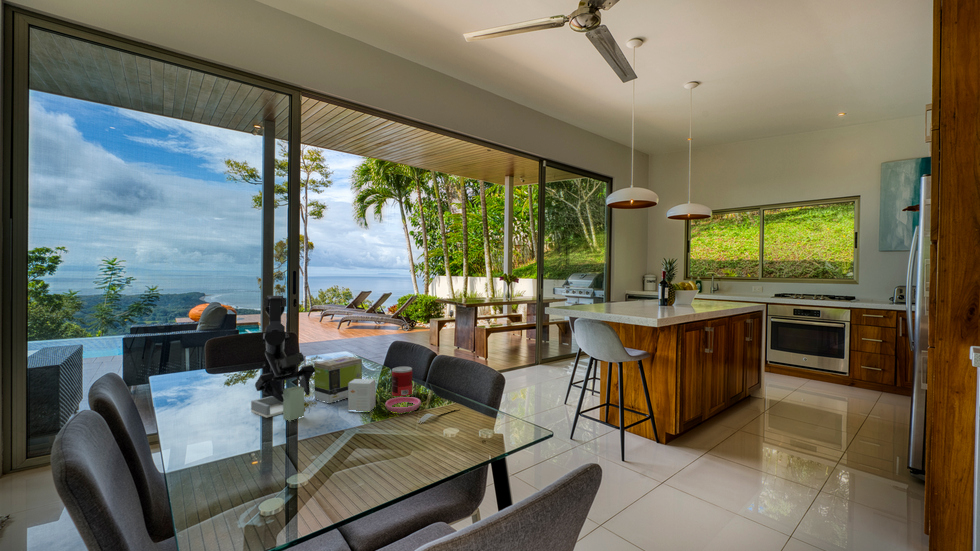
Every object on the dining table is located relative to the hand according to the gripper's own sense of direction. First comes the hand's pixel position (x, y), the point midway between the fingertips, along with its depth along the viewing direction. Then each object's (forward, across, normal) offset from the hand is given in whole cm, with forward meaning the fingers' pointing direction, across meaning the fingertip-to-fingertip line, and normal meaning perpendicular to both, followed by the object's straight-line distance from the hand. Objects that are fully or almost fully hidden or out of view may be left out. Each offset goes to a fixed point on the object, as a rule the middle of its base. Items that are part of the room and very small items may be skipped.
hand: (296, 397), depth 142 cm
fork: (+31, +31, -20) cm, 48 cm away
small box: (+13, +19, -2) cm, 23 cm away
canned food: (+12, +39, -2) cm, 40 cm away
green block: (+4, 0, +6) cm, 7 cm away
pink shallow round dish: (+21, +28, -10) cm, 36 cm away
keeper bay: (-4, 0, +14) cm, 15 cm away
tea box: (-1, +23, +12) cm, 26 cm away
